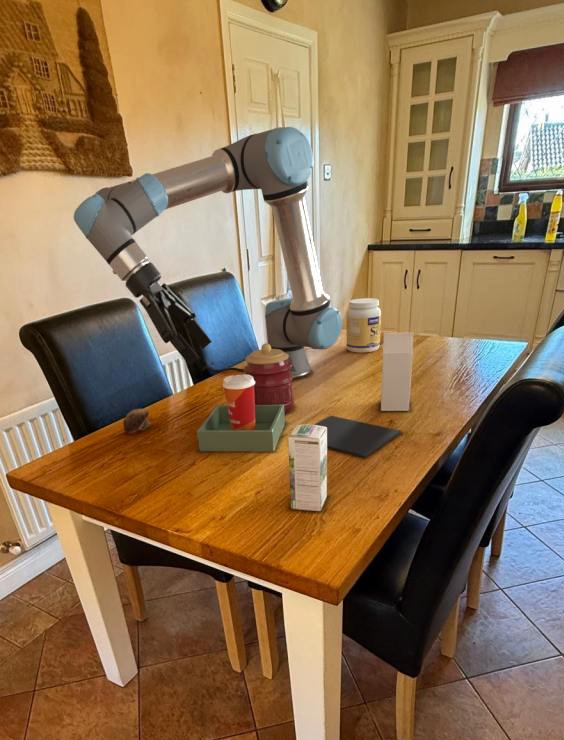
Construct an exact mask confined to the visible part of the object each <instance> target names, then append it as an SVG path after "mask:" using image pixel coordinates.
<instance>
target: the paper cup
mask: <svg viewBox="0 0 564 740" xmlns="http://www.w3.org/2000/svg"><path fill="white" fill-rule="evenodd" d="M254 384H255V381H254V379H253V377H252V376H251V375H247V374H246V373H242V374H235V375H234V374H232V375H228V376H226V377H224V379H223V383H222V387H223V389H224V394H225V395H224V396H225V401H226V405H227V407H228V412H229V418H230V423H231V428H232V430H256V428H255V396H254Z"/></svg>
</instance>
